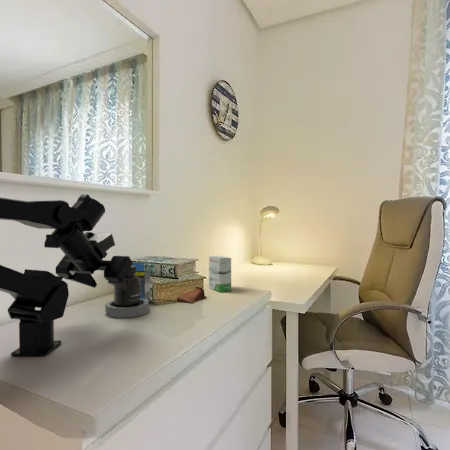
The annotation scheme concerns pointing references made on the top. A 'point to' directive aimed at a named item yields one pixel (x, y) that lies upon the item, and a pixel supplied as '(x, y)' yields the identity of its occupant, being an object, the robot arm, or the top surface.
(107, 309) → the ring seat
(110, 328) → the top surface
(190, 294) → the sunglasses case
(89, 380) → the top surface
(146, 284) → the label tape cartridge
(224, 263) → the ink box
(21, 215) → the robot arm
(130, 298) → the supplement bottle
